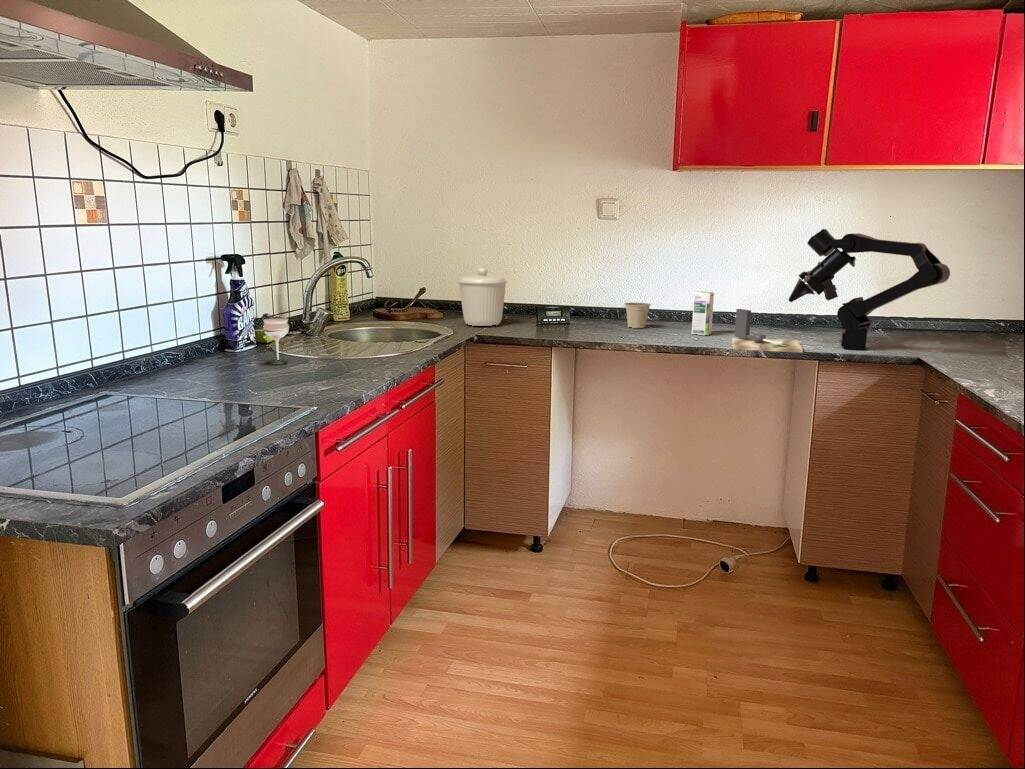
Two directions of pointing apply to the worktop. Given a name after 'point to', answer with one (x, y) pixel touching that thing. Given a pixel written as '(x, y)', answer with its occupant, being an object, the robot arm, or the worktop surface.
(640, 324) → the flower pot
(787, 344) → the board
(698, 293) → the syrup box
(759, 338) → the peg
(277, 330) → the wineglass
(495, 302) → the canister
